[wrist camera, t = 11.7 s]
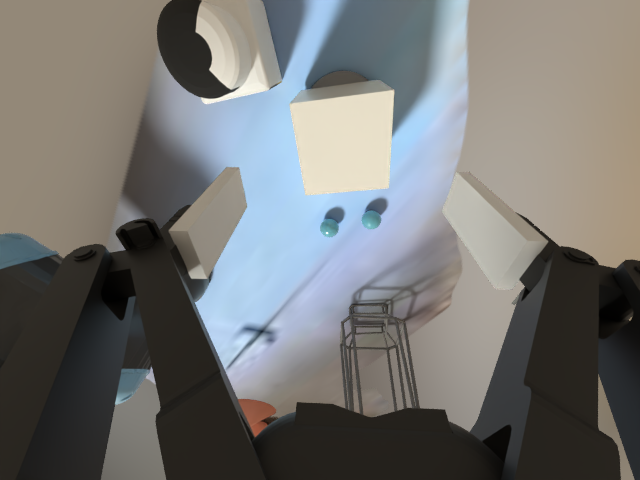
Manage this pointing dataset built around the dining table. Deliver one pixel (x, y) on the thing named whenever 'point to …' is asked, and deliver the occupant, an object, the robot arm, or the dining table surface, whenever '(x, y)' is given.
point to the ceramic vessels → (256, 413)
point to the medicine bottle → (218, 47)
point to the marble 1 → (329, 227)
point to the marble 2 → (371, 219)
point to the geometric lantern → (399, 341)
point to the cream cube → (344, 136)
